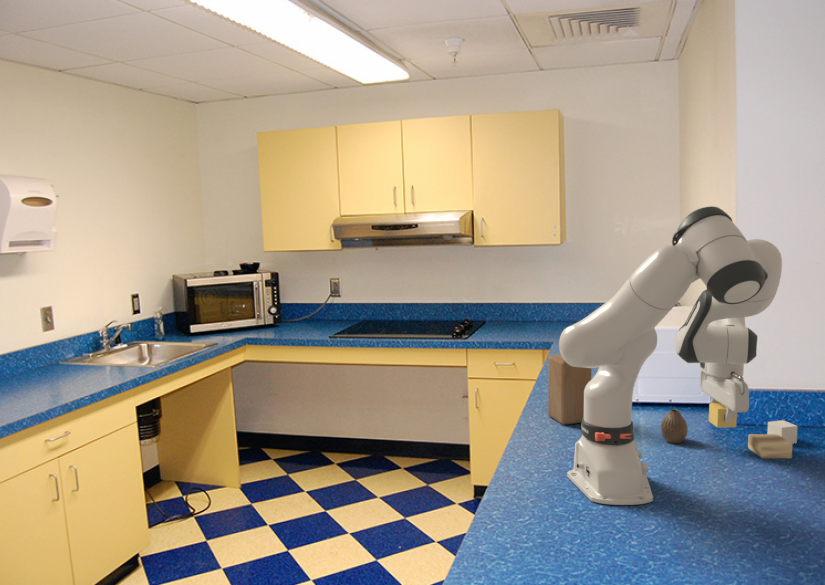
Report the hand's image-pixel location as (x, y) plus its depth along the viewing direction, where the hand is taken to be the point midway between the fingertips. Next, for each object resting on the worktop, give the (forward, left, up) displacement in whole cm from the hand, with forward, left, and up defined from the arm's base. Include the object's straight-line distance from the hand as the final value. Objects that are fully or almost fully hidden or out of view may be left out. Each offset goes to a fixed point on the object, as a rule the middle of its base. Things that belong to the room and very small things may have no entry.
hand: (722, 418), depth 171 cm
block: (+25, +35, -9) cm, 44 cm away
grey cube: (+5, -19, -9) cm, 21 cm away
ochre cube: (0, 0, -2) cm, 2 cm away
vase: (+6, +10, -9) cm, 15 cm away
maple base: (-3, -11, -9) cm, 14 cm away
